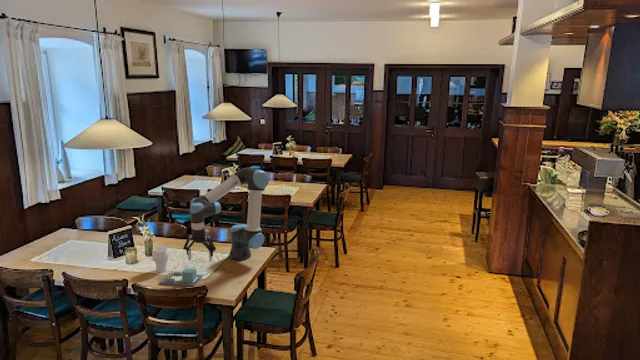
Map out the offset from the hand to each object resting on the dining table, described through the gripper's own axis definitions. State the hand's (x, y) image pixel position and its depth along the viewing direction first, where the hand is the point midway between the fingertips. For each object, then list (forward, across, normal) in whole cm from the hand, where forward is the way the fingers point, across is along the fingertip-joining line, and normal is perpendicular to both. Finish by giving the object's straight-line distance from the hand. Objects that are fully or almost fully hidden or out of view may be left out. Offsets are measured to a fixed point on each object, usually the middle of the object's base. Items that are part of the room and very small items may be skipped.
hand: (200, 260), depth 276 cm
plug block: (+13, +8, 0) cm, 15 cm away
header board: (+14, +14, 0) cm, 20 cm away
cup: (+15, +33, -12) cm, 38 cm away
